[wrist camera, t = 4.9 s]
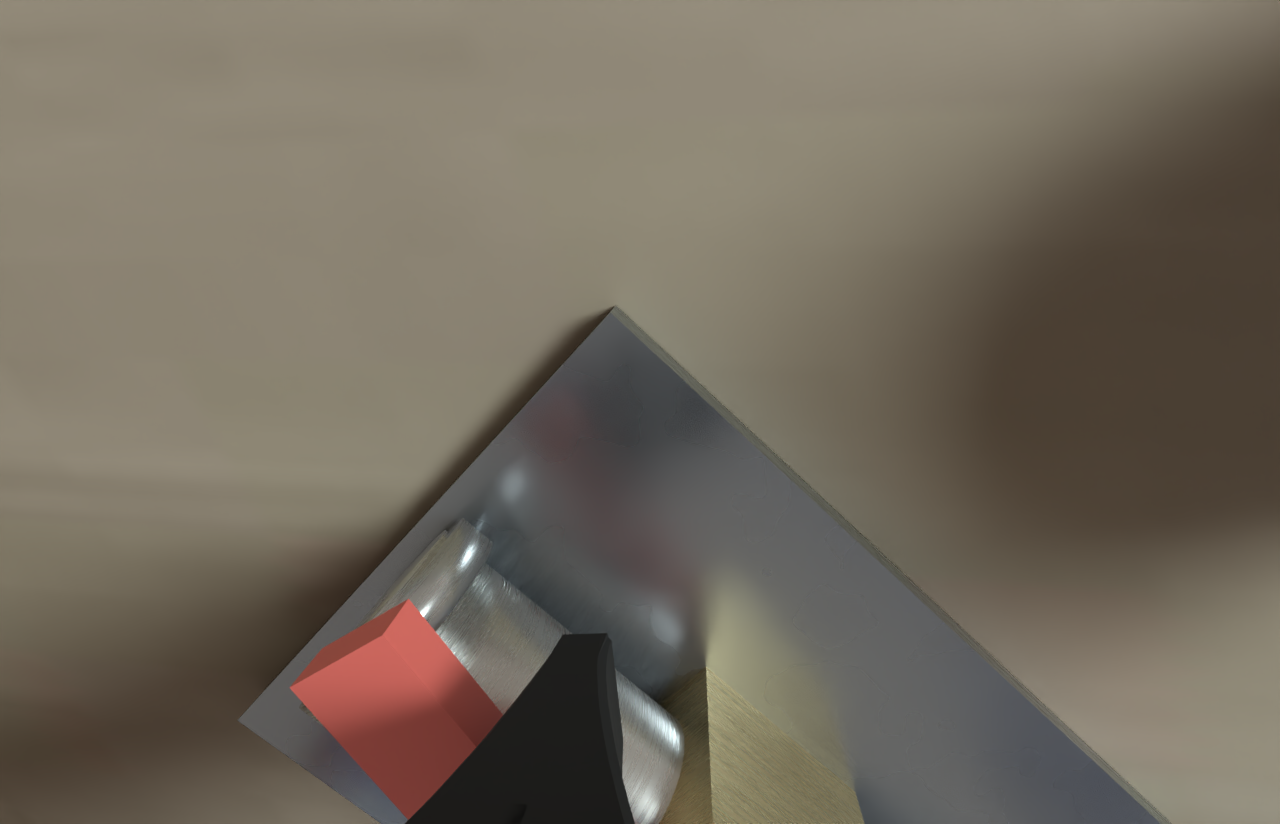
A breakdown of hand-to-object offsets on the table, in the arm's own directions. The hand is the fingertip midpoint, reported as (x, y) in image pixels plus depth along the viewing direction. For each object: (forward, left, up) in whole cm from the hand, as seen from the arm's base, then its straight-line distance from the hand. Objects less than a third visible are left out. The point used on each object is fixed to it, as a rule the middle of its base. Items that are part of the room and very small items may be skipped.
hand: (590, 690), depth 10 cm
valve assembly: (-6, +4, -6) cm, 9 cm away
